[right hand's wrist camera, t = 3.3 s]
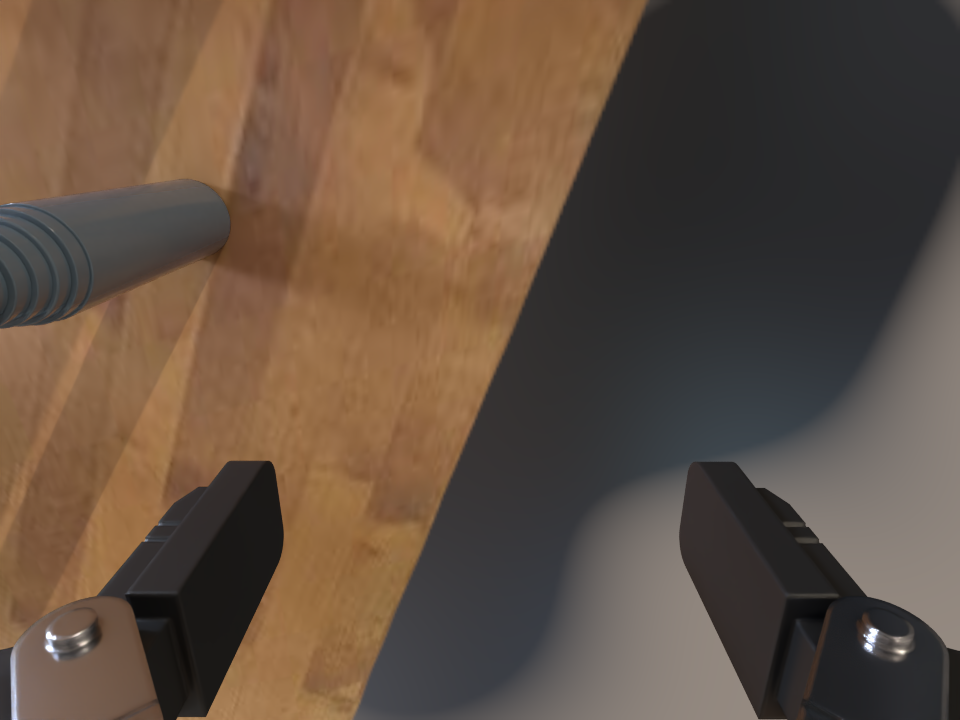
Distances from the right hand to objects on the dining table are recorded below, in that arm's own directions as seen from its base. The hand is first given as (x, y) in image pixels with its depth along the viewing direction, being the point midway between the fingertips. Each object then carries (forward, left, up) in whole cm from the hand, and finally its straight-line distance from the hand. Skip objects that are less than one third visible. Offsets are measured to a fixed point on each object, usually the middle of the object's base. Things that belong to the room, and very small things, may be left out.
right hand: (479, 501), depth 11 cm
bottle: (-2, -19, -29) cm, 35 cm away
